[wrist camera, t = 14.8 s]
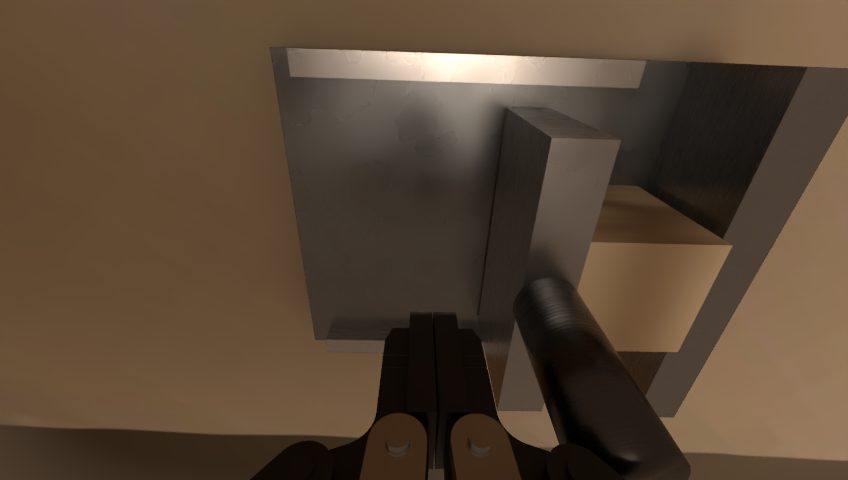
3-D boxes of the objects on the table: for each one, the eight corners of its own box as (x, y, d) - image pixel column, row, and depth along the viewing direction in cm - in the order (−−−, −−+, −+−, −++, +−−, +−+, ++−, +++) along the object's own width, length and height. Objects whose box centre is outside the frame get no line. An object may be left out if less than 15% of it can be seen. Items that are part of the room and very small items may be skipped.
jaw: (474, 320, 21) (529, 592, 10) (502, 107, 15) (683, 235, 5) (514, 320, 21) (609, 592, 10) (556, 109, 15) (855, 239, 5)
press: (321, 323, 23) (288, 412, 18) (282, 47, 16) (202, 45, 10) (619, 328, 24) (683, 417, 18) (723, 63, 16) (890, 70, 10)
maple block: (519, 268, 20) (556, 350, 14) (536, 183, 17) (587, 242, 12) (608, 271, 20) (677, 351, 14) (637, 185, 17) (732, 245, 12)
